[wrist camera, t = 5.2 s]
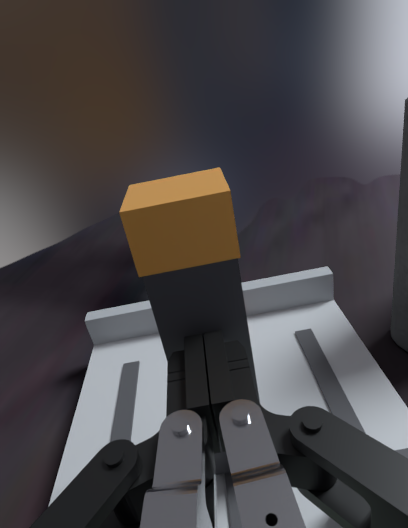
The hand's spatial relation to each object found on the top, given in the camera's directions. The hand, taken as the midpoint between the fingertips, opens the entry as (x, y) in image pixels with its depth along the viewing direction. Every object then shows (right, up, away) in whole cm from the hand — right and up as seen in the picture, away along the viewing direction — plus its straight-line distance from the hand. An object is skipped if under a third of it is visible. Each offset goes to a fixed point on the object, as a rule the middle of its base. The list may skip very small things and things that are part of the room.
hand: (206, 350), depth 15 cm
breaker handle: (+1, -6, +6) cm, 9 cm away
